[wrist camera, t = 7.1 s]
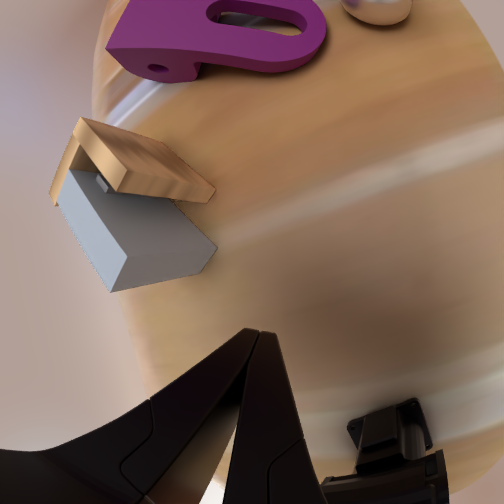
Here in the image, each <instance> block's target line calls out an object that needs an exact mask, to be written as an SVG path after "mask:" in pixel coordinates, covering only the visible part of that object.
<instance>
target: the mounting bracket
mask: <svg viewBox="0 0 504 504" xmlns="http://www.w3.org/2000/svg"><path fill="white" fill-rule="evenodd" d="M221 12H236V13H244V14H250V15H256V16H262V17H267V18H272V19H277V20H281V21H286V22H290V23H292V24H294V25H296V26H297V27H299V28H300V30H301V31H302V33H301V34H299V35H295V36H286V35H282V34H277V33H273V32H268V31H263V30H258V29H252V28H246V27H240V26H233V25H226V24H218V23H217V22H218V19H219V17H220V14H221ZM325 34H326V21H325V17H324V15H323V13H322V11H321V10H320V8H319V7H318V6H317V5H316V4H315V3H314V2H313V1H312V0H130V2H129V3H128V5H127V7H126V9H125V10H124V12H123V14H122V16H121V18H120V20H119V21H118V23H117V25H116V27H115V29H114V31H113V33H112V35H111V37H110V39H109V41H108V44H107V46H106V48H105V49H106V50H107V51H108V52H109V53H110V54H111V55H112V56H113V57H114V58H115V59H116V60H117V61H118V62H119V63H120V64H121V65H122V66H123V67H124V68H125V69H126V70H127V71H129V72H131V73H132V74H135V75H137V76H139V77H142V78H145V79H149V80H153V81H157V82H163V83H180V82H191V81H193V80H195V79H196V77H197V74H198V71H199V68H200V66H201V63H202V62H205V63H213V64H220V65H227V66H233V67H238V68H244V69H249V70H254V71H260V72H283V71H288V70H292V69H295V68H298V67H300V66H302V65H304V64H305V63H307V62H308V61H310V60H311V59H312V57H313V56H314V55H315V54H316V52H317V51H318V49H319V47H320V45H321V43H322V41H323V39H324V37H325Z"/></svg>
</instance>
